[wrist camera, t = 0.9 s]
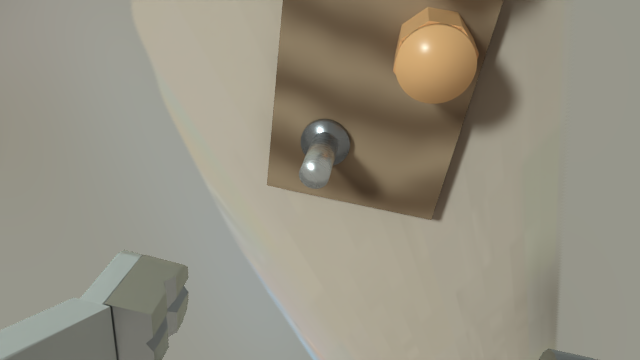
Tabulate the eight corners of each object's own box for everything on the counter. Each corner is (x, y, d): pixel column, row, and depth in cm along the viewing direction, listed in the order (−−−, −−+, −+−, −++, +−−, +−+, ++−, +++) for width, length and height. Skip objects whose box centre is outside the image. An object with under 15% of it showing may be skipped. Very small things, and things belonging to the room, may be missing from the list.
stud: (304, 114, 42) (289, 146, 36) (354, 124, 41) (345, 157, 36) (299, 157, 44) (284, 193, 39) (346, 167, 44) (337, 204, 39)
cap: (406, 3, 35) (405, 19, 31) (479, 15, 35) (488, 34, 31) (391, 72, 38) (387, 95, 34) (458, 85, 38) (463, 110, 34)
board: (290, -40, 37) (286, -38, 35) (500, -4, 35) (503, 0, 34) (271, 177, 47) (267, 185, 46) (430, 210, 46) (431, 219, 45)
